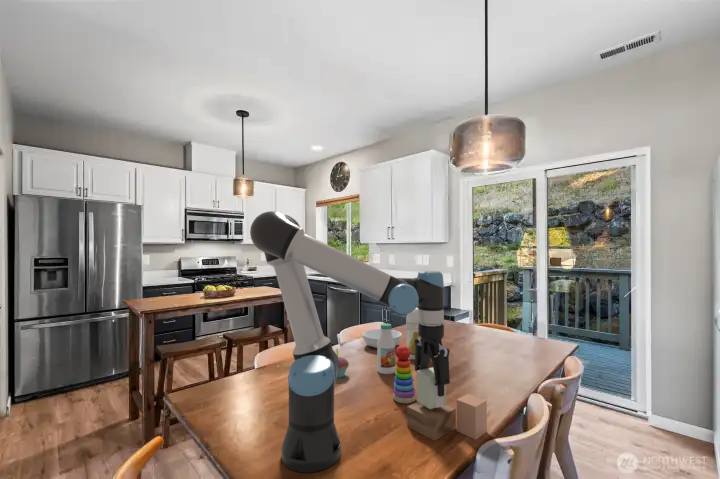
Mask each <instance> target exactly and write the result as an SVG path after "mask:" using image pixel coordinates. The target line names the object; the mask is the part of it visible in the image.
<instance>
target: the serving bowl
mask: <svg viewBox="0 0 720 479" xmlns="http://www.w3.org/2000/svg"><path fill="white" fill-rule="evenodd" d="M391 334H392V337H393V339H394V342H395V347H396V346H397V345H398V344H400V342H401V340H402V337H403V334H402V332H400V331H399V330H395V329H392V330H391ZM380 335H381V328H374V329H369V330H366V331H364V332H363V333H362V338H363V341H364V342H365V344H366V345H368V346H369V347H372V348H376V349H377V344H378V339H379V337H380Z"/></svg>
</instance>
